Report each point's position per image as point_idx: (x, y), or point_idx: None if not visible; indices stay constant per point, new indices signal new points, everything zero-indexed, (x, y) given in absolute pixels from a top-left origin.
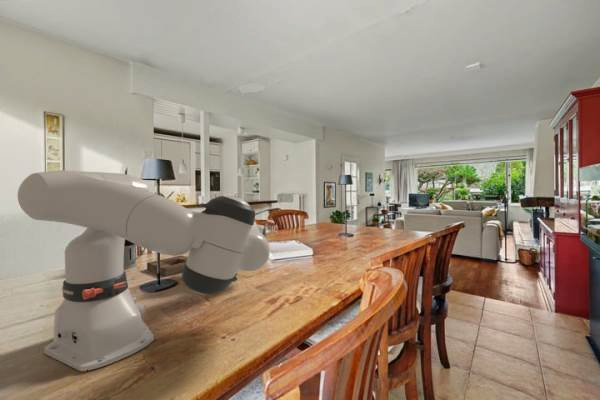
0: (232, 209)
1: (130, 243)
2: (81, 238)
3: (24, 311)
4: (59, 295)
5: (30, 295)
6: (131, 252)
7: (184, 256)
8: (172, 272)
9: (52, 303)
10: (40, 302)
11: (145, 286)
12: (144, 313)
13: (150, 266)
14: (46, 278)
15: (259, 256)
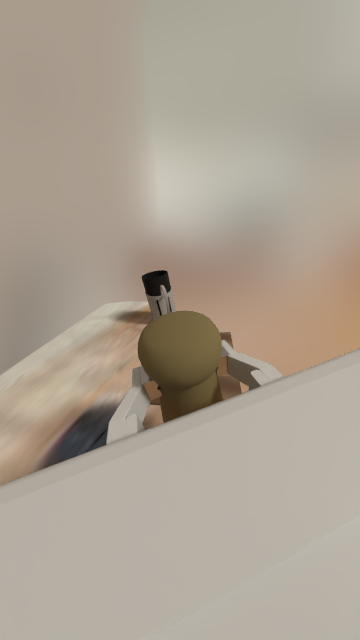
0: None
1: (155, 293)
2: None
3: (3, 380)
4: (55, 360)
5: (61, 342)
6: (160, 306)
7: (230, 340)
8: (156, 401)
9: (24, 379)
10: (33, 366)
11: (81, 424)
12: None
13: None
14: (111, 313)
15: None
